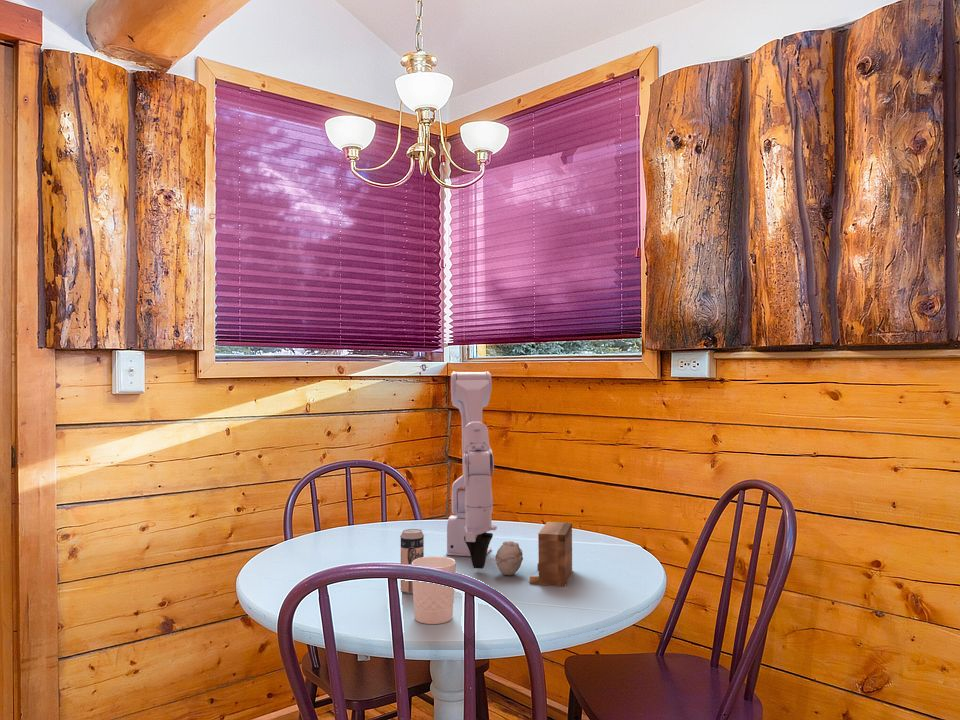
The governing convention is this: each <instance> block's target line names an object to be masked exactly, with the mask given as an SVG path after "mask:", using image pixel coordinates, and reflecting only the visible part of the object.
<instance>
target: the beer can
mask: <svg viewBox="0 0 960 720" xmlns="http://www.w3.org/2000/svg"><path fill="white" fill-rule="evenodd" d="M424 538H425V535H424V533H423V531H422V529H418V528H410V529H409V528H408V529H403V530H402V532H401V534H400V565H401V564H412V561H413V560H415V559H418V558H422V557H425V556H424V555H425V554H424V551H425V550H424V548H425V547H424V546H425V545H424V544H425V543H424V542H425V541H424V540H425V539H424ZM399 589H400V591H401V592H403V593H405V594H409V595H410V594H411V595H413V585H412V581H405V580H401V579H400V588H399Z"/></svg>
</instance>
